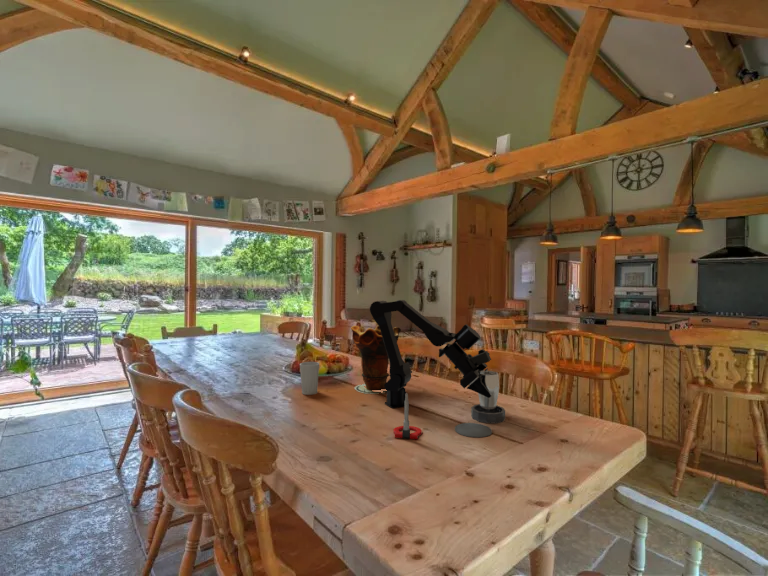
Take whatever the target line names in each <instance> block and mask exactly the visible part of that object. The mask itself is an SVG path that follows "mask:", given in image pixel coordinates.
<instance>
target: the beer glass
mask: <svg viewBox="0 0 768 576" xmlns="http://www.w3.org/2000/svg"><path fill="white" fill-rule="evenodd" d="M478 373H479V376H480V375H482V383H483V384H484V386H485V387H486V388H487V390H488V391H489V393H490V394H491V397H490V398H488V397H486V396H484V395H481V394H479V393H477V395H478V401H479V404H480V412H484V413H497V411H496V405H497V403H498V398H499V391H500V381H499V378H500V377H499V373H498V372H497V371H492V370H487V371H485V370H484V371H480V372H478Z"/></svg>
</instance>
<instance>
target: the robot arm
mask: <svg viewBox="0 0 768 576" xmlns="http://www.w3.org/2000/svg"><path fill="white" fill-rule="evenodd" d="M369 312H370V315H371V316H372V318H373V320H374V322H375V323H376V325H377V326H378V325H379V328H380V331H381V334H382V338H383V341H384V344H385V348H386V351H387V354H388V358H389V361H388V362H389V371H388V374H389V375H390V376H389V379H387V381H386V383H385V384H384V386H385V389H386V390H387V393H386V401H385V402H384V404H385V405H386V406H387V407H390V408H392V409H396V408H403V407H405V394H406V393H407V391H406V388H405V387H406V386H407V384H408V383H409V382H410V380H411V379H412V373H413V371H412V369H411V365H410V362H408V361H407V362H405V361H404V359H403V358H402V355H401V352H400V347H399V345H398V341H396V338H395V334H394V331H393V328H394V327H393V325H392V315H393V314H392V312H399V313H400V314H401V315H402V316H403V317H405V319H407V320H408V321H409V322H411V323H412V324H414V325H415V326H416V327H417V328H419V329H420V330H421V332H423V334H424V335H425V337H426V338H427V340H429V342H430V343H431V344H432V345H433V346H434V347H442V346H444V345H445V346H444V347H443V348H439V349H438V357H439V358H441V357H443V356H444V355H445V356H446V357H447V358H448V360H449V361H450V362H451V363H452V364H453V365H454V369H455V370H457V369H458V371H459V372H460V374H462V375H463V376H462V378H461V379H460V381H459V385H460V386H461V387H462V388H463V389H467V390H470V391H473V392H475V393H477V394H478V393H479V394H481V395H484V396H486V397H488V398H490V397H491V394H490V393H489V391H488V390H487V388H486V387H485V386H484V384H483V383H482V375H480V376H479V373H478V372H480V371H489V369H488V365H487V364H486V363H489V362H490V361H492V358H491V355H490V352H488V350H485V349H479V350H478V352H477V354H476V355H472V354H470V353H468V354H467V353H466V351H465V350H470V348H472V347H473V346H474V345H475V344H476V343H478V341H479V340H480V339H482V337H481V335H480V334H479V332H477V331H476V329H473V328H472V327H471V326H469V324H467V323H466V324H464V325H463V326H462V327H461V328H460V330H459V331H458V332H456V333H454V332H450V331H448V330H447V329H446V328H444V327H442V326H440V325H438V324H437V323H434V322H432V321H430V320H429V319H428V318H426V317H425V316H424V315H422V314H421V313H420V312H419V311H417V309H415V308H413V306H411V305H410V304H409V303H408V302H407V301H406V300H405V299H398V300H396V301H386V300H377V301H373V302H371V304H370V306H369ZM452 341H453V342H452ZM451 342H452V343H451Z"/></svg>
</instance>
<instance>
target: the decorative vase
mask: <svg viewBox="0 0 768 576" xmlns="http://www.w3.org/2000/svg"><path fill="white" fill-rule="evenodd" d="M392 328H393V331H394V334H395V338H396V341H397V342H398V341H399V337H400V333H401V331H402V329H401V327H398V326H395V327H392ZM350 330H351V333H352V336H351V337H352V341H353V344H355V346H356V347H357V349H358V350H359V352H360V358H361V360H360V361H361V362H360V364H361V377H362V380H363V381H362V382H364V383H362V385H361V384H358V385H355V386H354V390H356V392H359V393H363V394H371V395H373V394H375V395H379V393H381V392H373V391H372V390H381V389H385V386H384V384H385V383H386V382H387V381H388V377H390V373H389V372H388V368H389V362H390V361H389V358H388V354H387V351H386V348H385V344H384V341H383V338H382V334H381V331H380V328H379V325H378V324H377V325H376V326H375V328H372V327H368V328H366V330H365V331H363V332H361V327H360V326H359V325H352V326H351V327H350ZM364 386H366V388H365V387H364ZM383 392H387V391H383Z"/></svg>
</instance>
